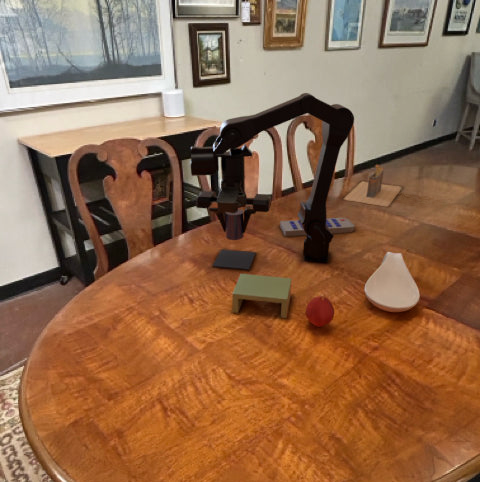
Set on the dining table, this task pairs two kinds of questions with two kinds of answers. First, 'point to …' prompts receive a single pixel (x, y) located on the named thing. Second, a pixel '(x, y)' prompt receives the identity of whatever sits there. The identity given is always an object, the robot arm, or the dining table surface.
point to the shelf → (262, 291)
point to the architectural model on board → (374, 190)
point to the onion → (320, 311)
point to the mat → (234, 259)
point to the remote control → (333, 224)
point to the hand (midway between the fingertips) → (234, 231)
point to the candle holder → (234, 225)
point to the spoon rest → (392, 285)
